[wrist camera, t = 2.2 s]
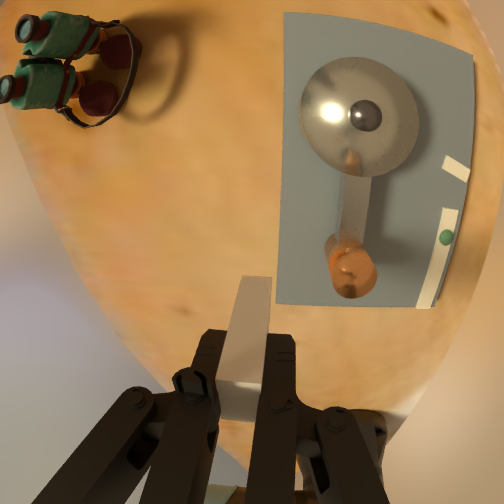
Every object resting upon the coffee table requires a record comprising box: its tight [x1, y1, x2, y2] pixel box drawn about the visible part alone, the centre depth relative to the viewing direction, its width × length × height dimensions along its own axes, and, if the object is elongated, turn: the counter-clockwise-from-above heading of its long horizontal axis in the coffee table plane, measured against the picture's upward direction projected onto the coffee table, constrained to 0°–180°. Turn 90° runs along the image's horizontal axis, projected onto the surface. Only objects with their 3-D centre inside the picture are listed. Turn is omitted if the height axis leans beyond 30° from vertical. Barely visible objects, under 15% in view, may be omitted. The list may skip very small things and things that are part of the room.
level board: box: [276, 12, 475, 309], centre depth 20 cm, size 24×16×2 cm, turn 0°
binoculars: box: [0, 11, 141, 128], centre depth 14 cm, size 9×11×10 cm
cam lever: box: [298, 57, 419, 299], centre depth 17 cm, size 16×8×5 cm, turn 179°
